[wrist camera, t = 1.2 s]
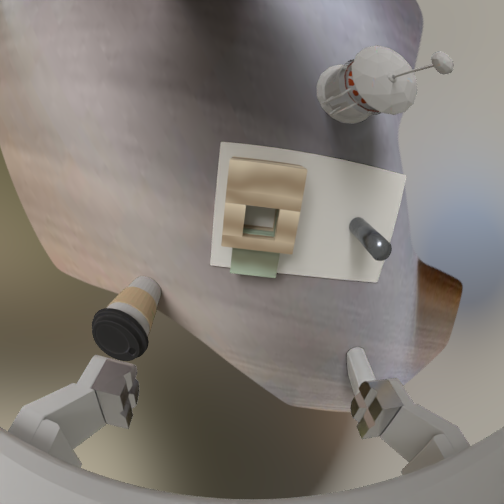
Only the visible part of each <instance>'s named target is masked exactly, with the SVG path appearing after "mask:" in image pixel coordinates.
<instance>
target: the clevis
mask: <svg viewBox="0 0 504 504" xmlns="http://www.w3.org/2000/svg"><path fill="white" fill-rule="evenodd" d="M306 176H307V169H306V168H304V167H303V166H301V165H297V164H290V163H283V162H277V161H269V160H262V159H253V158H245V157H236V156H233V157H232V158H231V159H230V161H229V170H228V179H227V189H226V199H225V210H224V220H223V231H222V243H221V246H223V247H231V248H232V257H231V267H230V273H234V274H243V275H252V276H261V277H270V278H276V273H277V267H278V262H279V256H280V253H283V254H293V249H294V244H295V238H296V233H297V228H298V222H299V217H300V211H301V206H302V200H303V194H304V188H305V182H306ZM246 205H250V206H258V207H266V208H274V209H275V216H274V223H273V228H271V227H263V226H255V225H247V224H244V219H245V210H246Z"/></svg>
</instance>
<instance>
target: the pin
mask: <svg viewBox="0 0 504 504" xmlns="http://www.w3.org/2000/svg"><path fill="white" fill-rule="evenodd" d="M349 229H350V231H351V233H352V234H353V235H354V236H355V237H356V238H357V239H358V240H359V242H360V243H361V244H362V245H363V246H364V247H365V249H366V250H367V251H368V252H369V253H370V254H371V256H372V257H373V258H374V259H375V260H377V261H383V260H385V259H386V258H388V257H389V255H390V253H391V250H392V248H391V244H390V243H389V242H388V241H387V240H386V239H385V238H384V237H383V236H382V235H381V234H380V233H379V232H377V231H376V230H375V229H374V228H373V227H372V226H371V225H370V224H369V223H367V222H366V221H365V220H364V219H363V218H361V217H356V218H354V219H352V220H351V222H350V224H349Z"/></svg>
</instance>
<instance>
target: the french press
mask: <svg viewBox="0 0 504 504" xmlns="http://www.w3.org/2000/svg"><path fill="white" fill-rule="evenodd" d="M431 60H432V64H431V65H427V66H424V67H420V68H417V69H414V70H412V68H411V66H410V65H409V64H408V63H407V62H406V60H405V59H404V58H403V57H402V56H401V55H399V54H398V53H396V52H395V51H393V50H392V49H390V48H386V47H381V46H372V47H366V48H364V49H363V50H362V51H360V52H359V53H358V54H357V55H356V57H355V59H353V60H350V61H348V62H351V63H345V64H348V65H345V64H344V65H341V64H340V65H336V66H332V67H329V68H328V69H327V70H326V71H324V72H323V73H322V74H321V75H320V78H319V80H318V83H317V98H318V100H319V102H320V104H321V107H322V109H323V110H324V111H325V112H326V113H327V114H328V115H329V116H330V117H331V118H333V119H336V120H338V121H340V122H342V123H350V124H355V123H358V122H361V121H364V120H366V119H367V118H368V117H369V116H370V115H377V114H380V113H386V114H392V115H395V114H399V113H402V112H405V111H406V110H407V109H408V108H409V107H410V106H411V105H412V104H413V103H414V100H415V97H416V94H417V83H416V78H415V75H414V73H413V72H416V71H419V70H423V69H427V68H430V67H435V69H436V70H437V71H438V72H439V73H441V74H448V73H451V72H452V71H453V66H454V64H453V61H452V59H451V57H450V56H448V55H447V54H446V53H444V52H440V51H438V52H435V53H434V54H433V55H432V57H431ZM372 112H373V113H374V114H373V113H372ZM375 112H376V113H377V114H376V113H375ZM378 112H379V113H378Z"/></svg>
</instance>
